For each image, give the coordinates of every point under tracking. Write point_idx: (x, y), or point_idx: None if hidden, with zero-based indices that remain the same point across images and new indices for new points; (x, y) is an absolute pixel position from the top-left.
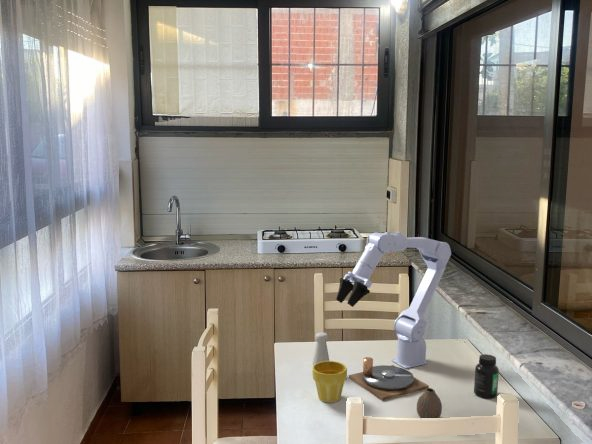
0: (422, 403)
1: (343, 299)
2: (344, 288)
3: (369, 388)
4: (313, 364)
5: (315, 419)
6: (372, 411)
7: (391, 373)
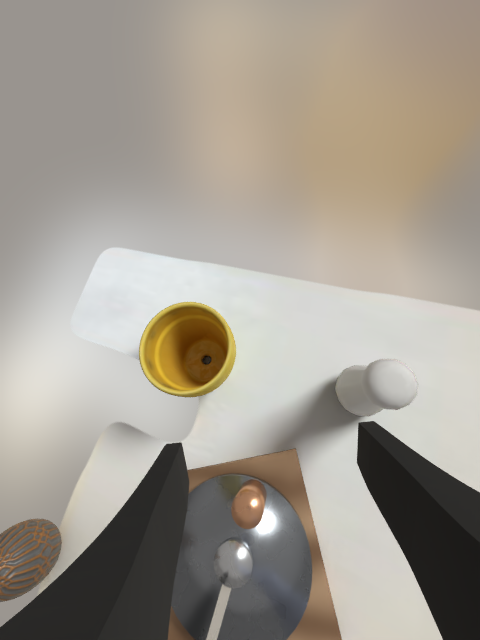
0: (2, 534)
1: (371, 490)
2: (439, 549)
3: (205, 470)
4: (356, 365)
5: (136, 308)
6: (122, 430)
7: (223, 571)
